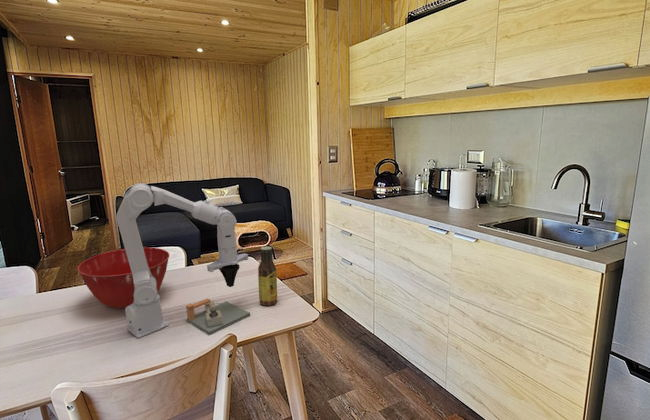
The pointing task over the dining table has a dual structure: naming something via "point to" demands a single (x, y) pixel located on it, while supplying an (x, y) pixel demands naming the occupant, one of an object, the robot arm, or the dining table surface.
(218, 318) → the latch
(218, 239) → the robot arm
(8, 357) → the dining table surface
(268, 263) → the sauce bottle
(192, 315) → the bracket
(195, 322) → the base
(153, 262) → the mixing bowl
